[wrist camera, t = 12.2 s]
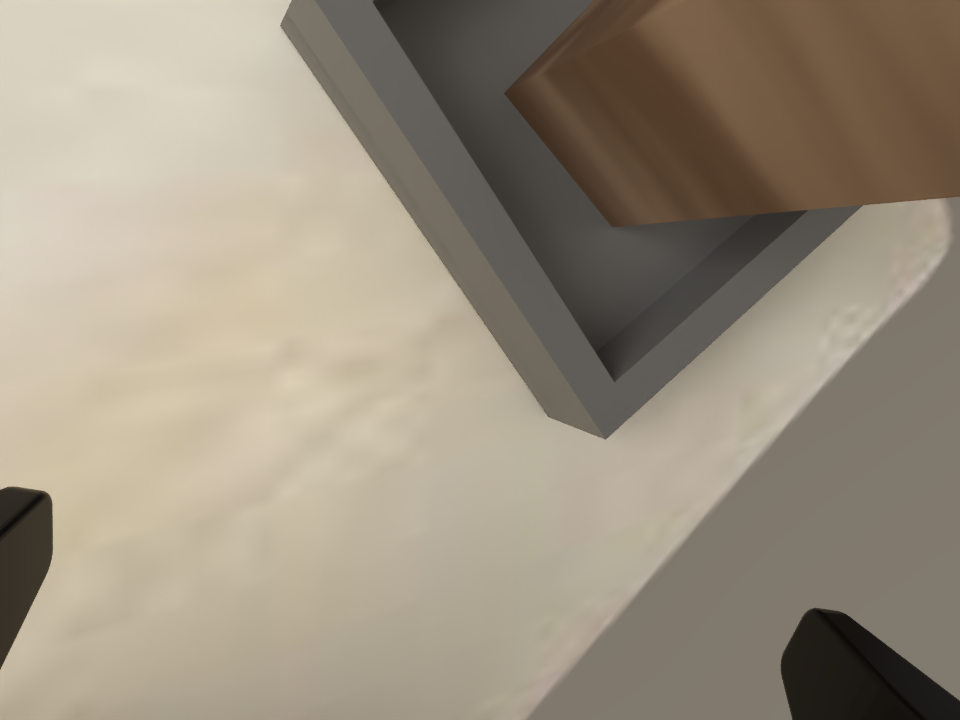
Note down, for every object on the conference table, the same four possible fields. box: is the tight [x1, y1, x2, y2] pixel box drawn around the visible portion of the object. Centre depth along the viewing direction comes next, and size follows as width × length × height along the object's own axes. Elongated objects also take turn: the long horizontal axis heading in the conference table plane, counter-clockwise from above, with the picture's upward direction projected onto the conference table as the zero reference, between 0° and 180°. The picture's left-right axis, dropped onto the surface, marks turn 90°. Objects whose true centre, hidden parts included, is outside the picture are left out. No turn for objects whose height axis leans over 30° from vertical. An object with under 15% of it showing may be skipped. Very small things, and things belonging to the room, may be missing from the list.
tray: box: [280, 0, 863, 439], centre depth 19 cm, size 12×12×3 cm
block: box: [504, 0, 960, 227], centre depth 13 cm, size 4×4×14 cm
